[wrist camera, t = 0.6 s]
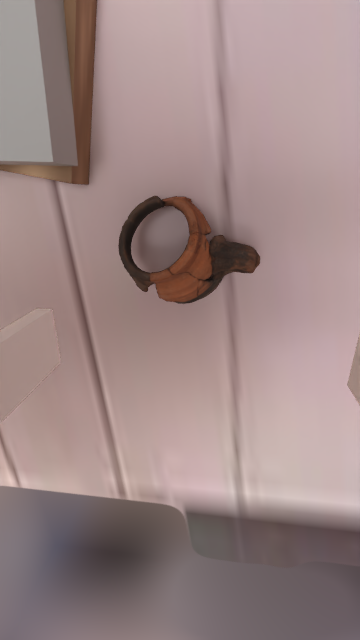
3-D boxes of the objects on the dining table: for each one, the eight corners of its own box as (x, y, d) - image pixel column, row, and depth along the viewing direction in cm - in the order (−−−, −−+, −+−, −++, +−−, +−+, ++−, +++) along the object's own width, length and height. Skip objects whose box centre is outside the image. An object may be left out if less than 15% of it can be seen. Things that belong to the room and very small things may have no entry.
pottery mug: (152, 307, 34) (105, 294, 26) (159, 222, 35) (114, 187, 27) (264, 310, 29) (246, 296, 22) (270, 211, 30) (254, 164, 22)
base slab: (-44, 159, 31) (-80, 155, 27) (-64, -30, 26) (-113, -67, 22) (90, 184, 30) (71, 183, 26) (99, -7, 25) (77, -41, 21)
